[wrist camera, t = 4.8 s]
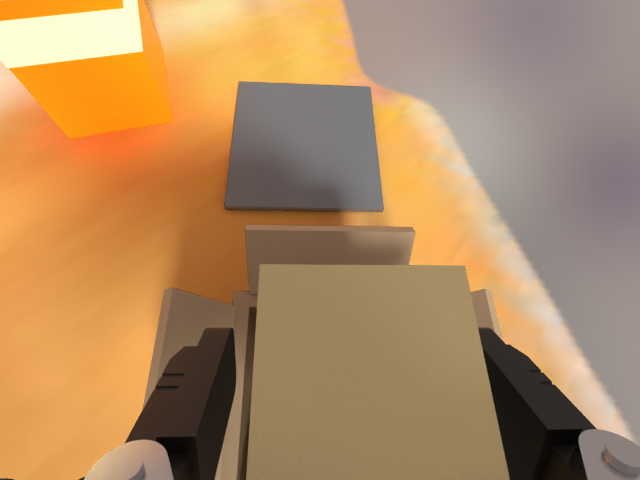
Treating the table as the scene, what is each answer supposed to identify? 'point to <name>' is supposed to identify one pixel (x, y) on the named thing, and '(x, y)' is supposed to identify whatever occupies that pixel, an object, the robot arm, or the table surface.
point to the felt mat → (304, 149)
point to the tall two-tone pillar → (370, 376)
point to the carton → (200, 312)
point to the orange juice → (87, 62)
